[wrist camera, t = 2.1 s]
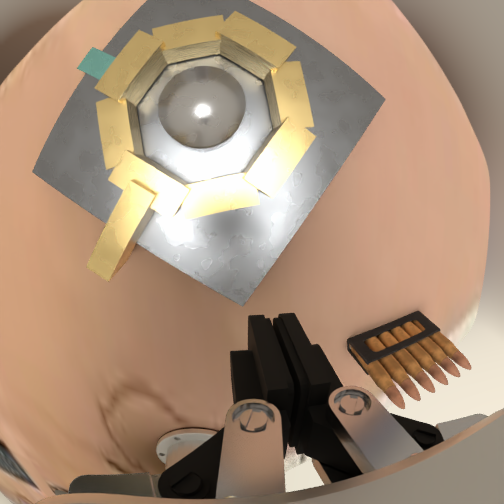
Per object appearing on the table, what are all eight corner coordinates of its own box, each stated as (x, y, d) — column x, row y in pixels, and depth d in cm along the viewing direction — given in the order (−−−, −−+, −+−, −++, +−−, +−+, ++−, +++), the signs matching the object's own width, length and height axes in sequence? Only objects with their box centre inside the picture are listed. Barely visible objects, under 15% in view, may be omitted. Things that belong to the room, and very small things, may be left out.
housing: (240, 297, 28) (247, 328, 22) (35, 165, 22) (0, 168, 16) (375, 102, 24) (409, 91, 18) (172, -22, 18) (166, -55, 12)
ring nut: (192, 299, 25) (188, 328, 20) (53, 210, 21) (22, 220, 16) (330, 99, 22) (356, 85, 17) (185, 9, 18) (180, -20, 13)
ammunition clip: (418, 310, 32) (478, 358, 20) (418, 321, 32) (474, 371, 21) (346, 338, 31) (396, 406, 20) (347, 350, 32) (394, 418, 20)
